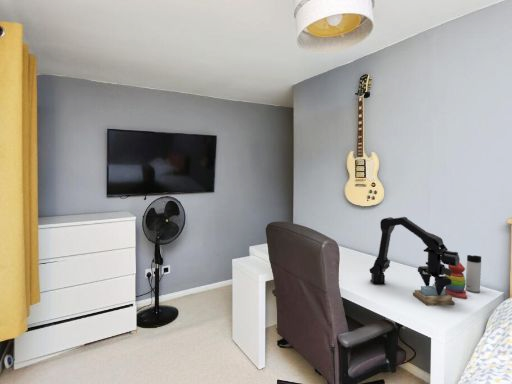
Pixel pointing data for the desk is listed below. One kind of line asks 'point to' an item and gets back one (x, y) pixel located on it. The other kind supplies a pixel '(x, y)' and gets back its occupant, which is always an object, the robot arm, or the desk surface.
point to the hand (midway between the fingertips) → (433, 291)
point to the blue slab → (431, 291)
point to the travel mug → (473, 273)
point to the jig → (434, 299)
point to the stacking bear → (456, 282)
